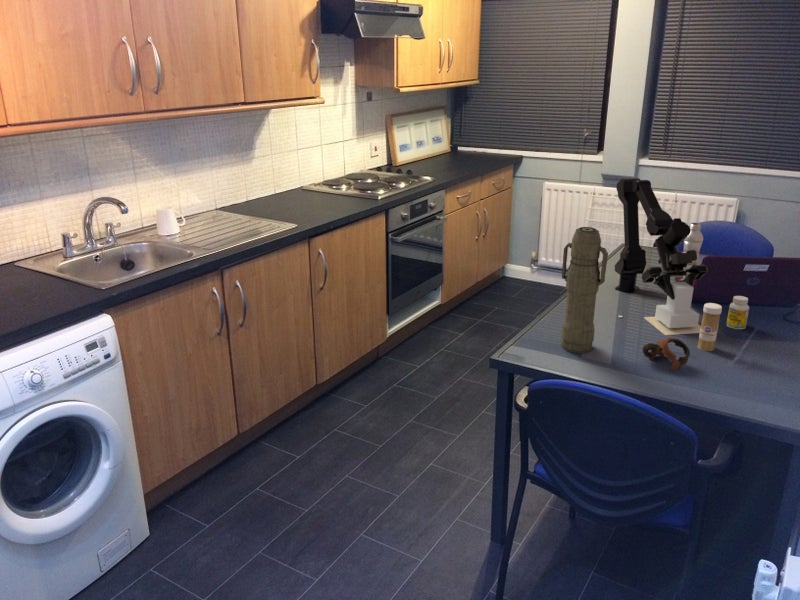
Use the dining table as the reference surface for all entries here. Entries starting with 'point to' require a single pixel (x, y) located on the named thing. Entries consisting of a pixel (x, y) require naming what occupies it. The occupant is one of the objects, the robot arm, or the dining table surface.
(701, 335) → the sprinkles bottle
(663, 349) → the pottery mug
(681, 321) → the cover
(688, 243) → the plastic bottle
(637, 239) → the robot arm
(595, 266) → the thermos
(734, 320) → the supplement bottle
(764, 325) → the dining table surface
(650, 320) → the mat
